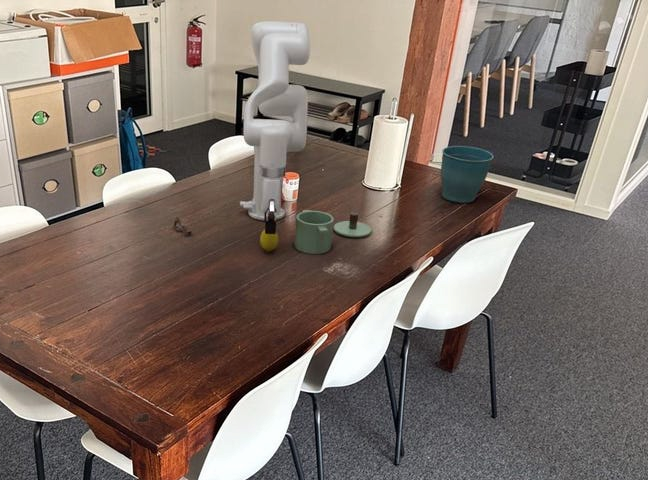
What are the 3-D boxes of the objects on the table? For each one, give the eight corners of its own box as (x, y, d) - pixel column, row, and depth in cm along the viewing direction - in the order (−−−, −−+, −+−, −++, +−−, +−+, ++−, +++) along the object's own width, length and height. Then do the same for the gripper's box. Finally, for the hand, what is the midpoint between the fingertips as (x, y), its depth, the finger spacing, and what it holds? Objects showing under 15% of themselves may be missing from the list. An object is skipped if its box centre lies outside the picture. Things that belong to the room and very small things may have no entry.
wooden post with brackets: (174, 224, 223) (177, 213, 220) (188, 240, 221) (192, 230, 217) (169, 225, 222) (172, 215, 219) (184, 241, 220) (187, 231, 216)
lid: (341, 240, 219) (343, 222, 216) (328, 225, 229) (329, 208, 226) (377, 237, 222) (379, 219, 219) (362, 223, 232) (364, 205, 229)
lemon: (258, 247, 212) (259, 223, 208) (276, 247, 213) (277, 223, 208) (260, 255, 207) (261, 230, 203) (278, 255, 208) (279, 230, 204)
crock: (304, 258, 206) (306, 229, 201) (287, 237, 220) (289, 209, 215) (339, 255, 209) (342, 226, 204) (320, 234, 223) (323, 206, 217)
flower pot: (489, 196, 259) (499, 151, 249) (475, 210, 246) (485, 163, 237) (443, 186, 267) (452, 143, 257) (427, 199, 254) (435, 154, 244)
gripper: (259, 162, 203) (257, 217, 212) (259, 180, 189) (257, 238, 198) (284, 163, 203) (281, 217, 213) (286, 180, 189) (283, 238, 198)
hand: (269, 227), depth 205 cm, fingers open, 9 cm apart
